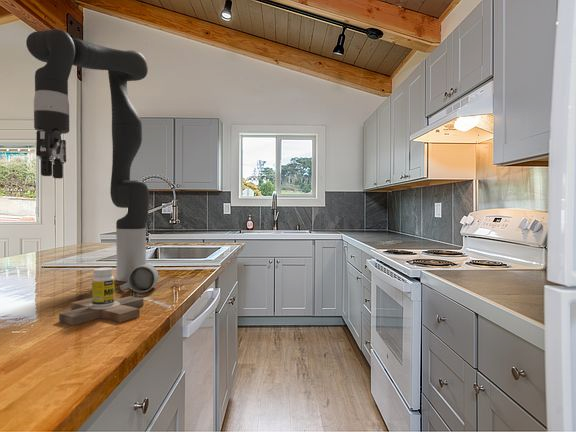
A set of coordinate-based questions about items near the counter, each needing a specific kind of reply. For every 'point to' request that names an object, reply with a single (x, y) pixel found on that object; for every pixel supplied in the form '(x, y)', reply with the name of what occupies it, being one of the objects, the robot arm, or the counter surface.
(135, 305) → the walnut cross joint
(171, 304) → the counter surface
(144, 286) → the ceramic mug
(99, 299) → the supplement bottle
